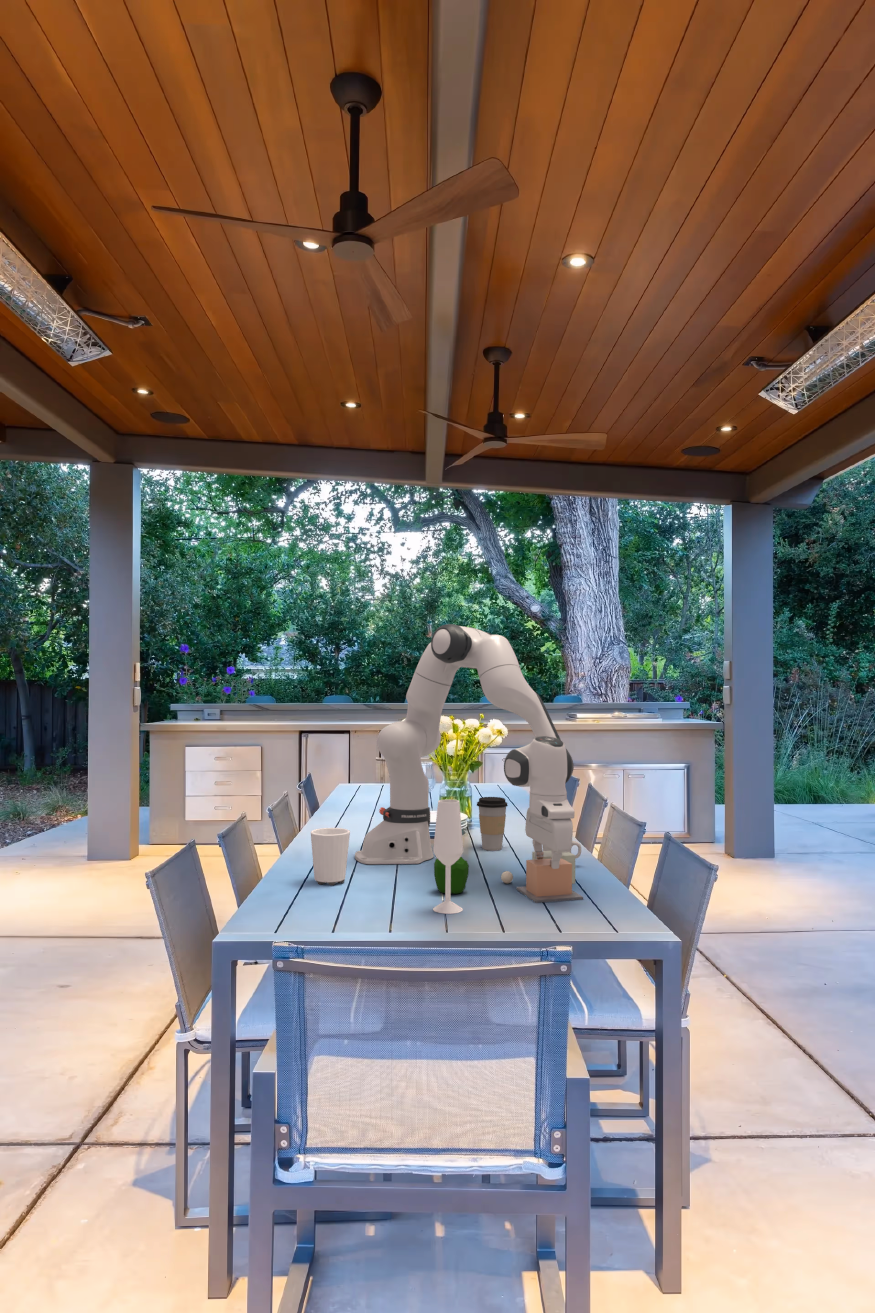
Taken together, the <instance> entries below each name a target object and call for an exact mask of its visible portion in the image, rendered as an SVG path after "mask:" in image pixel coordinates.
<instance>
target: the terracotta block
mask: <svg viewBox="0 0 875 1313" xmlns="http://www.w3.org/2000/svg"><path fill="white" fill-rule="evenodd" d="M550 860H551V859H534V860H532V859H526V861H525V862H526V863H525V864H526V865H525V867H526V868H525V870H526V871H525V872H526V873H525V876H526V878H525V881H526V882H525V883H526V884H525V886H526V890H528V891H529V892H531V893H532V894H534V895H535V896H536V897H537V896H551V895H565V894H572V890H573V884H572V864H571V863H569V862H567V861H566V860H564V859H562V858H561V859H560V861H559V868H558V869H553V868H551V867H550Z"/></svg>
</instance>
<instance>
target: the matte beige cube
mask: <svg viewBox="0 0 875 1313" xmlns="http://www.w3.org/2000/svg"><path fill="white" fill-rule="evenodd" d="M542 851H543V850H542ZM531 852H532V853H531V855H532V858H531V860H534V859H536V858H535V851H531ZM543 852H544V855H543V856H544V857H543V859H552V853H551V851H543ZM575 855H576V854H574V853H572V852H571V853H570V852H564V853H562V856H561V858H562V859H564V860H566V861H567V862H569V863H571V864H572V885H575V884H576V859H575Z"/></svg>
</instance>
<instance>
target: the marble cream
mask: <svg viewBox="0 0 875 1313" xmlns="http://www.w3.org/2000/svg"><path fill="white" fill-rule="evenodd" d="M500 878H501V881H502V882H503V883H504V884H510V883H512V882H513V879H514V876H513V873H512V872H511V871H508V870H506V871H504V872H502V873H501V876H500Z"/></svg>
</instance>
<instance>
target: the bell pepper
mask: <svg viewBox="0 0 875 1313" xmlns="http://www.w3.org/2000/svg"><path fill="white" fill-rule="evenodd" d="M433 864H434V865H433V874H434V875H433V876H434V880H435V881H434V882H435V884H436V889H437V890H438V891H439V892H440V893H443V894H445V877H446V866H445V865H444V864H442V863H441V862H440V861H439V859H438V858H437V857H436V858H435V861H434V863H433ZM469 867H470V865H469V863H468V861H467V860H466V859H464V857H462V856H461V857H460V858H459V859H458V860H457V861H456V862H455V863H454V864H453V865H451V894H460V893H463V892H464V890H465V889H466V885H467V882H468V878H469V872H470V869H469Z"/></svg>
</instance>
